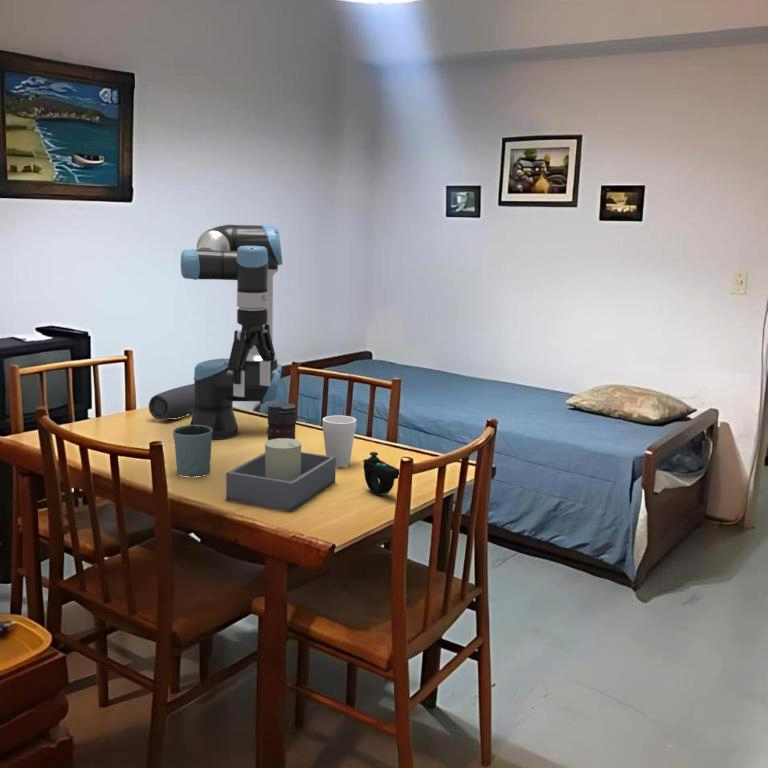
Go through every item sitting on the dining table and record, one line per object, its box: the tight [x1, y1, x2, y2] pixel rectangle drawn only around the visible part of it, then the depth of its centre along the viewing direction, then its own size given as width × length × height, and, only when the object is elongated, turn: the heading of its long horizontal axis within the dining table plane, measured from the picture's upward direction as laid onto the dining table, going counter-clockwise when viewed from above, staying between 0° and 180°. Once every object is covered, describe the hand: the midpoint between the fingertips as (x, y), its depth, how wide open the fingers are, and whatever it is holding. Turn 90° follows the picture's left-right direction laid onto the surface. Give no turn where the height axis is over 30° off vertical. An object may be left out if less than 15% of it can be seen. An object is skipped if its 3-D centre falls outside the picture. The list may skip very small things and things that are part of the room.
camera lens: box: [266, 402, 297, 441], centre depth 235 cm, size 8×8×15 cm
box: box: [225, 451, 337, 513], centre depth 206 cm, size 24×18×7 cm
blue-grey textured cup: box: [172, 424, 213, 477], centre depth 217 cm, size 10×10×12 cm
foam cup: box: [321, 414, 357, 468], centre depth 229 cm, size 10×9×13 cm
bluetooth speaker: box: [148, 383, 195, 421], centre depth 277 cm, size 23×9×10 cm, turn 157°
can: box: [264, 438, 303, 482], centre depth 206 cm, size 9×9×12 cm
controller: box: [362, 451, 400, 496], centre depth 206 cm, size 4×12×10 cm, turn 37°
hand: (252, 390), depth 210 cm, fingers open, 13 cm apart
